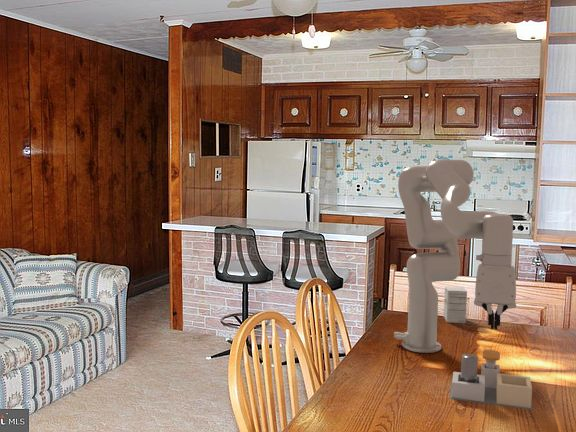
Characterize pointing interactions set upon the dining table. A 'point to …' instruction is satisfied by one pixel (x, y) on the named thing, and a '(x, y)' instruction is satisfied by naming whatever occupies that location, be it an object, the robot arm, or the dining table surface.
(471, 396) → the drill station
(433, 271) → the robot arm
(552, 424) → the dining table surface
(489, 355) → the button
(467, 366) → the grey rounded cylinder
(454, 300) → the supplement box
